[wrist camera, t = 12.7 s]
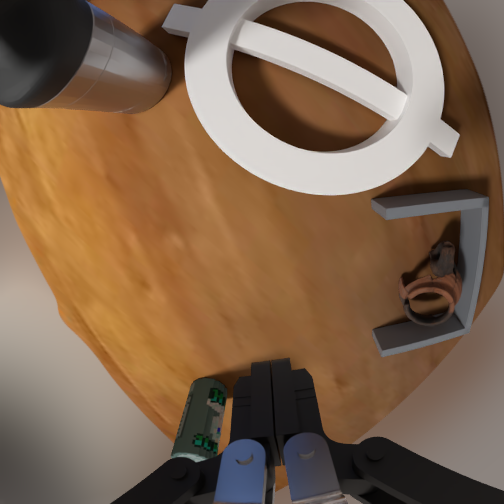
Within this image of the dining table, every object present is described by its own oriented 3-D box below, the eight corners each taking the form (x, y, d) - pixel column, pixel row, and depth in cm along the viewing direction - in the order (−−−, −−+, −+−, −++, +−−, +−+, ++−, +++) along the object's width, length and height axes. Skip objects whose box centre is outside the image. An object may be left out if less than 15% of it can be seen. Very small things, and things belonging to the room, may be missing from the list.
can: (226, 402, 47) (215, 473, 33) (193, 398, 47) (174, 466, 33) (227, 380, 45) (213, 457, 31) (190, 375, 45) (168, 449, 31)
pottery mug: (452, 292, 37) (452, 334, 32) (398, 284, 42) (391, 325, 36) (470, 227, 30) (478, 268, 25) (406, 219, 35) (402, 257, 30)
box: (372, 335, 40) (381, 357, 35) (371, 199, 33) (386, 208, 28) (455, 315, 38) (469, 332, 34) (467, 189, 31) (488, 197, 26)
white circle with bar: (164, 22, 26) (150, 9, 22) (367, -34, 21) (377, -50, 17) (250, 221, 35) (247, 233, 31) (450, 151, 30) (470, 155, 25)
